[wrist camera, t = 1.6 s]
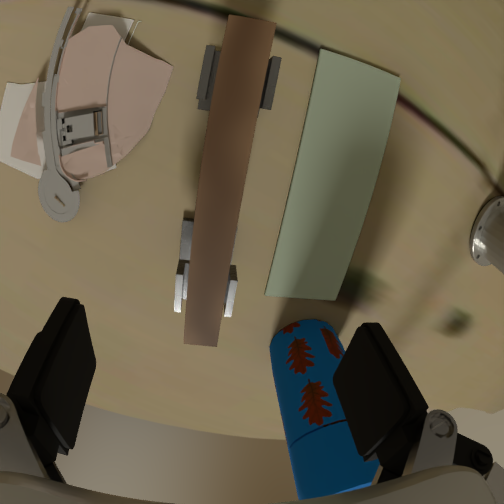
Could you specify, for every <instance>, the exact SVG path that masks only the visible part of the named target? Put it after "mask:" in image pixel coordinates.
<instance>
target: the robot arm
mask: <svg viewBox="0 0 504 504" xmlns="http://www.w3.org/2000/svg"><path fill="white" fill-rule="evenodd" d="M470 253H471V256H472V258H473V260H474V261H475V262H476V263H478V264H479V265H481V266H488V265H490V264H492V265H494V266H495V267H496V268H497V269H498V270H500V271H501V272H502V273H503V274H504V196H498V197H495V198H493V199H492V200H490V201H489V202H488V203H487V204H486V205H485V206H484V207H483V209H482V210H481V212H480V213H479V215H478V217H477V219H476V221H475V224H474V226H473V229H472V233H471V238H470ZM95 369H96V358H95V354H94V350H93V346H92V342H91V337H90V333H89V328H88V323H87V318H86V313H85V308H84V305H82V304H80V302H79V300H78V299H73V298H67V297H62V298H61V299H60V300H59V302H58V304H57V305H56V307H55V309H54V310H53V312H52V314H51V315H50V317H49V319H48V321H47V322H46V324H45V326H44V328H43V330H42V331H41V332H39V333H37V335H36V336H35V338H34V340H33V341H32V343H31V345H30V347H29V349H28V351H27V353H26V355H25V357H24V359H23V361H22V363H21V365H20V367H19V369H18V371H17V373H16V375H15V377H14V379H13V381H12V384H11V386H10V388H9V390H8V392H7V395H4V394H2V393H0V504H173V503H162V502H153V501H146V500H139V499H133V498H127V497H121V496H116V495H110V494H105V493H101V492H96V491H92V490H87V489H83V488H79V487H75V486H72V485H68V484H67V483H66V481H65V480H64V478H63V476H62V474H61V472H60V471H59V469H58V467H57V465H56V463H55V460H56V457H57V453H60V454H64V455H68V451H69V449H73V448H74V446H75V442H76V437H77V433H78V429H79V425H80V421H81V417H82V414H83V410H84V406H85V403H86V399H87V396H88V392H89V389H90V385H91V382H92V379H93V375H94V372H95ZM333 385H334V387H335V390H336V393H337V396H338V398H339V401H340V404H341V406H342V409H343V412H344V415H345V418H346V420H347V423H348V426H349V429H350V432H351V434H352V437H353V440H354V443H355V446H356V449H357V452H358V454H359V455H360V456H362V457H363V459H364V462H368V461H372V460H376V459H378V460H379V463H380V464H379V467H378V469H377V472H376V474H375V476H374V479H373V481H372V483H371V485H370V486H368V487H364V488H360V489H356V490H352V491H347V492H343V493H338V494H333V495H328V496H323V497H317V498H311V499H304V500H298V501H290V502H281V503H272V504H504V469H503V468H502V467H501V466H500V465H499V464H497V463H496V462H494V463H493V458H492V454H491V453H490V451H489V449H488V448H487V447H485V446H484V445H482V444H480V443H478V442H476V441H473V440H471V439H469V438H467V437H465V436H463V435H461V434H459V433H457V424H456V422H455V420H454V419H453V417H452V416H451V415H450V414H449V413H447V412H445V411H443V410H433V411H430V412H429V413H427V411H426V410H427V409H428V408H429V407H428V405H427V403H426V401H425V399H424V398H423V396H422V394H421V392H420V390H419V389H418V387H417V385H416V383H415V382H414V380H413V378H412V376H411V375H410V373H409V371H408V369H407V368H406V366H405V364H404V363H403V361H402V359H401V357H400V356H399V354H398V352H397V351H396V349H395V347H394V346H393V344H392V343H391V341H390V339H389V338H388V336H387V334H386V333H385V331H384V329H383V328H382V326H381V325H380V324H379V323H363V324H362V325H361V326H360V327H358V328H357V330H356V332H355V334H354V336H353V338H352V340H351V342H350V344H349V346H348V348H347V350H346V352H345V354H344V356H343V358H342V360H341V361H340V363H339V365H338V367H337V369H336V371H335V373H334V375H333Z"/></svg>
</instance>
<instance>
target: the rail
mask: <svg viewBox="0 0 504 504" xmlns="http://www.w3.org/2000/svg"><path fill="white" fill-rule="evenodd" d="M275 28H276V23H274V22H269V21H264V20H259V19H254V18H248V17H242V16H235V15H229V17H228V21H227V26H226V30H225V35H224V39H223V44H222V49H221V54H220V58H219V63H218V68H217V74H216V79H215V84H214V89H213V95H212V100H211V106H210V112H209V118H208V124H207V130H206V136H205V143H204V149H203V156H202V163H201V170H200V177H199V184H198V192H197V200H196V208H195V216H194V225H193V234H192V244H191V254H190V264H189V275H188V287H187V300H186V314H185V329H184V344H192V345H203V346H215V347H217V342H218V336H219V330H220V324H221V317H222V311H223V305H224V299H225V293H226V287H227V281H228V275H229V269H230V263H231V258H232V252H233V246H234V240H235V235H236V229H237V223H238V218H239V212H240V206H241V201H242V195H243V190H244V184H245V179H246V174H247V168H248V163H249V158H250V152H251V147H252V142H253V137H254V131H255V126H256V121H257V116H258V111H259V106H260V101H261V96H262V91H263V86H264V81H265V76H266V71H267V66H268V61H269V56H270V51H271V47H272V42H273V37H274V32H275Z"/></svg>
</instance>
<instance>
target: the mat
mask: <svg viewBox="0 0 504 504" xmlns="http://www.w3.org/2000/svg"><path fill="white" fill-rule="evenodd" d="M400 80H401V78H399V77H397V76H394V75H392V74H390V73H387V72H385V71H383V70H380V69H378V68H375V67H373V66H370V65H367V64H365V63H362V62H359V61H357V60H354V59H351V58H348V57H345V56H342V55H339V54H336V53H333V52H330V51H327V50H324V49H320V51H319V56H318V61H317V66H316V71H315V75H314V80H313V85H312V90H311V95H310V99H309V104H308V109H307V113H306V118H305V123H304V127H303V132H302V136H301V141H300V145H299V150H298V154H297V159H296V163H295V168H294V172H293V177H292V181H291V185H290V190H289V194H288V198H287V203H286V207H285V211H284V215H283V220H282V224H281V228H280V232H279V236H278V240H277V245H276V249H275V253H274V257H273V261H272V265H271V269H270V273H269V277H268V281H267V285H266V289H265V293H264V294H265V296H276V297H289V298H302V299H317V300H333V301H335V300H336V298H337V295H338V293H339V290H340V287H341V285H342V282H343V280H344V277H345V274H346V272H347V269H348V266H349V263H350V261H351V258H352V255H353V252H354V249H355V246H356V244H357V241H358V238H359V235H360V232H361V229H362V226H363V223H364V220H365V216H366V213H367V210H368V207H369V204H370V200H371V197H372V194H373V190H374V187H375V184H376V180H377V177H378V173H379V170H380V166H381V162H382V159H383V155H384V151H385V147H386V143H387V139H388V135H389V131H390V127H391V123H392V118H393V114H394V109H395V105H396V100H397V95H398V91H399V86H400Z"/></svg>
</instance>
